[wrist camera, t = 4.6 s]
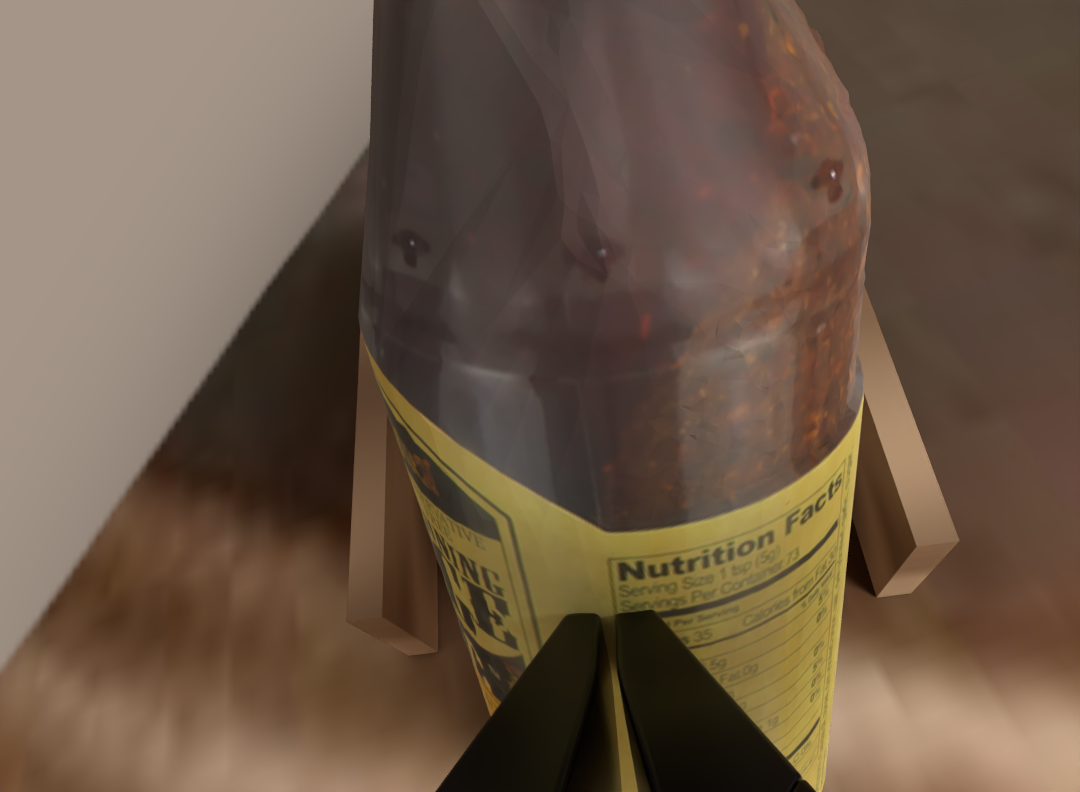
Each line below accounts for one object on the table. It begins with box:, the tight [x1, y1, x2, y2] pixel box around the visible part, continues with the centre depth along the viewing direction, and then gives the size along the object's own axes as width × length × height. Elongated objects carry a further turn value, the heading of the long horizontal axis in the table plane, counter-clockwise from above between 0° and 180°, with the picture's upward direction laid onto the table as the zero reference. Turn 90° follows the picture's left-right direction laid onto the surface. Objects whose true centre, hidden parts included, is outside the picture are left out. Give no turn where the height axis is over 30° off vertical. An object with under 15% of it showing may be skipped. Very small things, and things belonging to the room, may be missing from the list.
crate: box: [347, 286, 959, 656], centre depth 20 cm, size 12×13×4 cm
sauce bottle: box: [358, 0, 871, 792], centre depth 11 cm, size 7×6×20 cm
